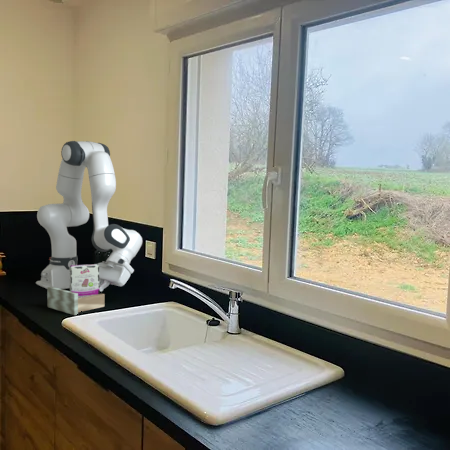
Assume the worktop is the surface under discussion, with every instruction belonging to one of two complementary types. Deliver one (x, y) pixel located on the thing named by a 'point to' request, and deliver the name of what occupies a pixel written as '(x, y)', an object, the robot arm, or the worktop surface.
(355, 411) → the worktop surface
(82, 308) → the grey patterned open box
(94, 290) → the candy bar box
